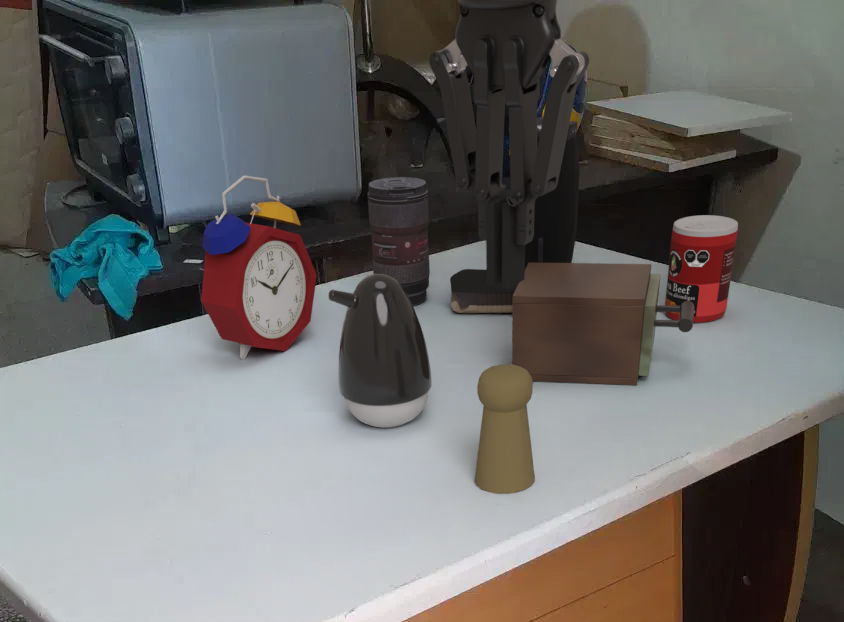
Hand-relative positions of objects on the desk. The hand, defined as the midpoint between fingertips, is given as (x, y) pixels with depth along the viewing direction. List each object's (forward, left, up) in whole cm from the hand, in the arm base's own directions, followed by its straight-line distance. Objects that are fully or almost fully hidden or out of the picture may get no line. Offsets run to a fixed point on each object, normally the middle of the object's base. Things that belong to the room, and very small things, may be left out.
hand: (505, 281), depth 89 cm
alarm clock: (+47, -19, -19) cm, 54 cm away
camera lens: (+40, -42, -19) cm, 61 cm away
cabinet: (+7, -31, -19) cm, 37 cm away
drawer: (+3, -32, -18) cm, 37 cm away
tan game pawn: (0, 0, -19) cm, 19 cm away
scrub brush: (+25, -46, -19) cm, 55 cm away
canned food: (+1, -53, -19) cm, 56 cm away
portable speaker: (+27, -60, -19) cm, 68 cm away
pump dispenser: (+19, -7, -19) cm, 28 cm away
